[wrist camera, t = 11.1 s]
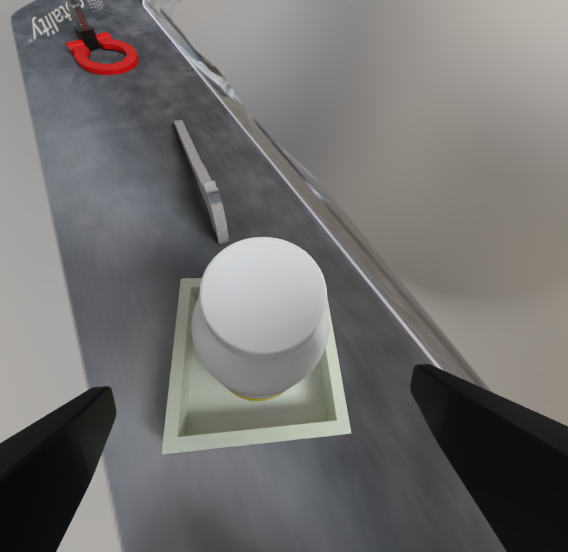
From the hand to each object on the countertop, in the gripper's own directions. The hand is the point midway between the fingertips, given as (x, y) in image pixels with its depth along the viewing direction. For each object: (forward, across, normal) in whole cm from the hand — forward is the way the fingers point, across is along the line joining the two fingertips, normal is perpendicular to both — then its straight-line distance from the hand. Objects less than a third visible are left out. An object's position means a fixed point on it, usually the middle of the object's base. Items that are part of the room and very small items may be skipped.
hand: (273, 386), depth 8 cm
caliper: (+27, +6, -7) cm, 29 cm away
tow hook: (+44, +22, -25) cm, 55 cm away
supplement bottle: (+12, 0, +7) cm, 14 cm away
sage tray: (+12, 0, +7) cm, 14 cm away
